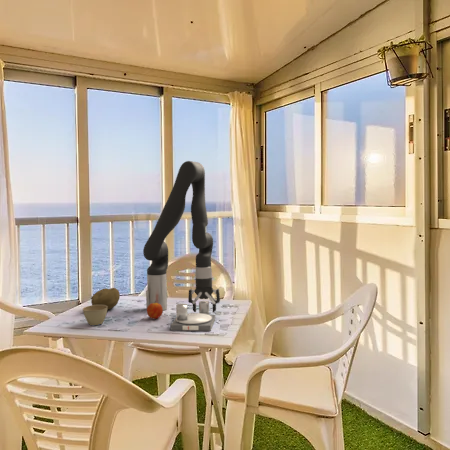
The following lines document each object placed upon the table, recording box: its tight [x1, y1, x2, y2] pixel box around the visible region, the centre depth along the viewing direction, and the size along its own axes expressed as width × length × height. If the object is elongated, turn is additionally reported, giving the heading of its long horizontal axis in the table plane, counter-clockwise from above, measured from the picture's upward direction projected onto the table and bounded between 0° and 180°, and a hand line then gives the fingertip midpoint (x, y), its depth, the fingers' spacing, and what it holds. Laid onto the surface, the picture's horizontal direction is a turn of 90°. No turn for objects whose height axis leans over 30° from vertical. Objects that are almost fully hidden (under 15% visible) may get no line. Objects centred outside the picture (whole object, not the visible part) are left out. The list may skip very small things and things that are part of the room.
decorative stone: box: [90, 287, 121, 311], centre depth 198 cm, size 17×11×10 cm, turn 164°
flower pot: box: [82, 304, 108, 326], centre depth 174 cm, size 10×10×7 cm
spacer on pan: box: [175, 303, 188, 321], centre depth 169 cm, size 4×4×6 cm
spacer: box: [198, 300, 210, 315], centre depth 187 cm, size 4×4×6 cm
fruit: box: [146, 301, 164, 320], centre depth 182 cm, size 7×7×8 cm
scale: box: [170, 312, 216, 332], centre depth 171 cm, size 16×17×3 cm
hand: (204, 311), depth 187 cm, fingers open, 8 cm apart
